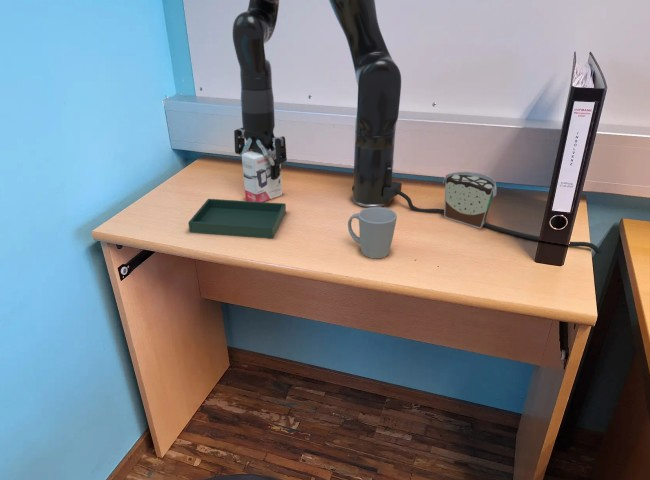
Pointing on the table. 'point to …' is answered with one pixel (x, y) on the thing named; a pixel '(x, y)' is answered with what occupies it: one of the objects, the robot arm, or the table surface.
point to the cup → (374, 231)
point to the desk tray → (238, 218)
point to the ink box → (259, 178)
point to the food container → (468, 197)
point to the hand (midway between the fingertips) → (261, 175)
